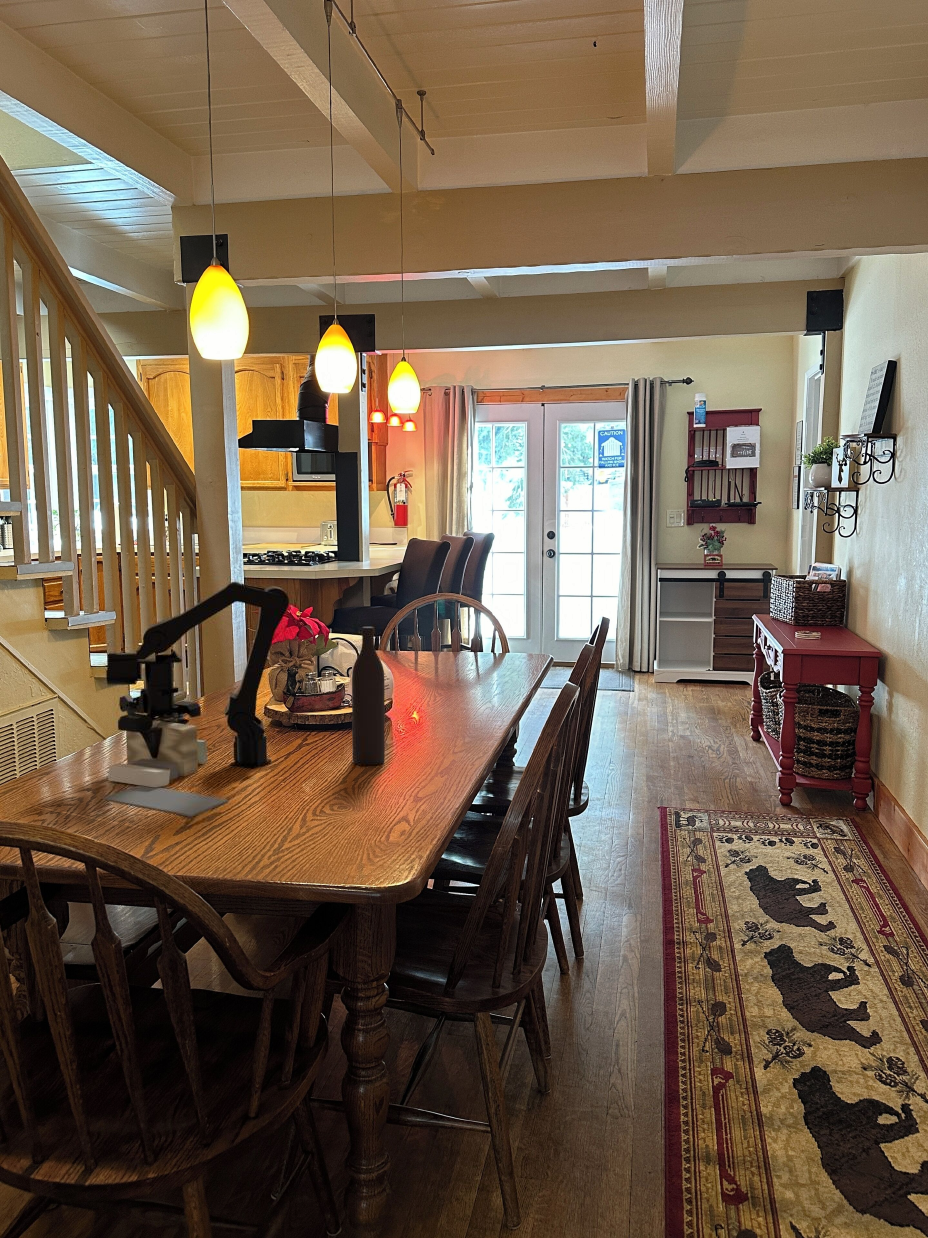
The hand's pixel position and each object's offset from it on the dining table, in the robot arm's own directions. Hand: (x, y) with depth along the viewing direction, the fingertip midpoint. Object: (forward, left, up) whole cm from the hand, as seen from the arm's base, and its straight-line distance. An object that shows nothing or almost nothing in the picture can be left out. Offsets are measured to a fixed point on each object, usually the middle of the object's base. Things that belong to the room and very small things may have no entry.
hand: (161, 755), depth 197 cm
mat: (-16, +16, -3) cm, 23 cm away
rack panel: (+1, -8, -3) cm, 8 cm away
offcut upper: (-3, +7, -2) cm, 7 cm away
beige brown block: (0, 0, -3) cm, 3 cm away
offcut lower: (-3, +10, -3) cm, 11 cm away
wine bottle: (-36, -25, -3) cm, 44 cm away
